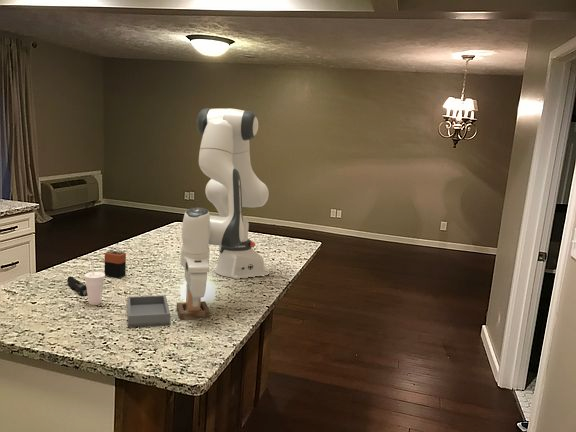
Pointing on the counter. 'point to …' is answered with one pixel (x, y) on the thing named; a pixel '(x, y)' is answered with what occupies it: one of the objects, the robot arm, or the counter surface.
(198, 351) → the counter surface
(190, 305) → the block
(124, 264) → the battery
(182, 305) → the frame
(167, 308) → the tray
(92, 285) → the smoothie
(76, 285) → the electric trimmer
